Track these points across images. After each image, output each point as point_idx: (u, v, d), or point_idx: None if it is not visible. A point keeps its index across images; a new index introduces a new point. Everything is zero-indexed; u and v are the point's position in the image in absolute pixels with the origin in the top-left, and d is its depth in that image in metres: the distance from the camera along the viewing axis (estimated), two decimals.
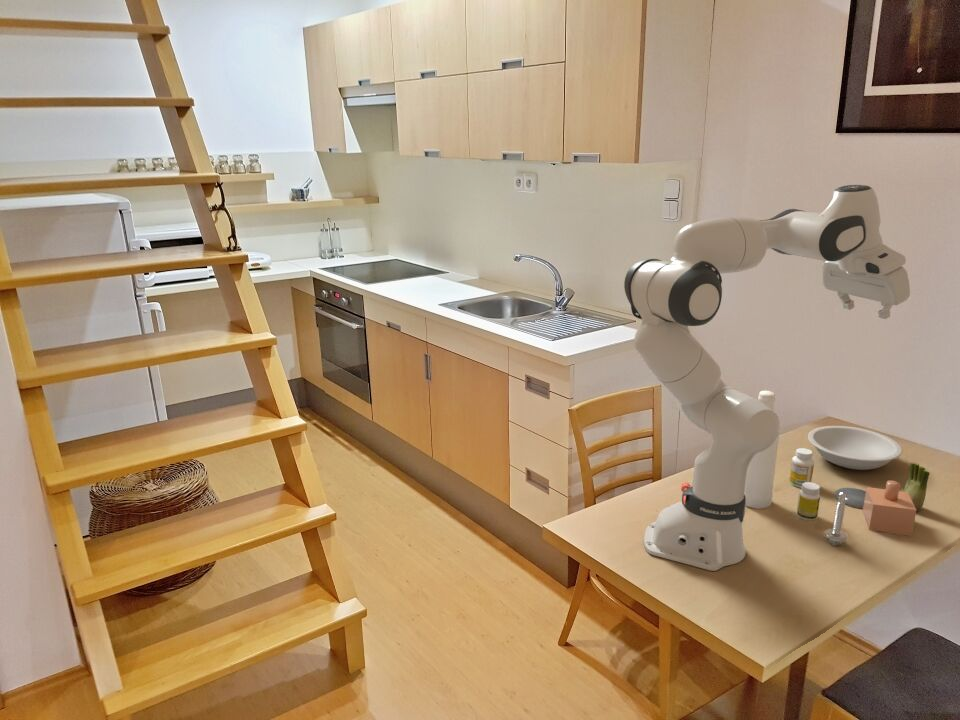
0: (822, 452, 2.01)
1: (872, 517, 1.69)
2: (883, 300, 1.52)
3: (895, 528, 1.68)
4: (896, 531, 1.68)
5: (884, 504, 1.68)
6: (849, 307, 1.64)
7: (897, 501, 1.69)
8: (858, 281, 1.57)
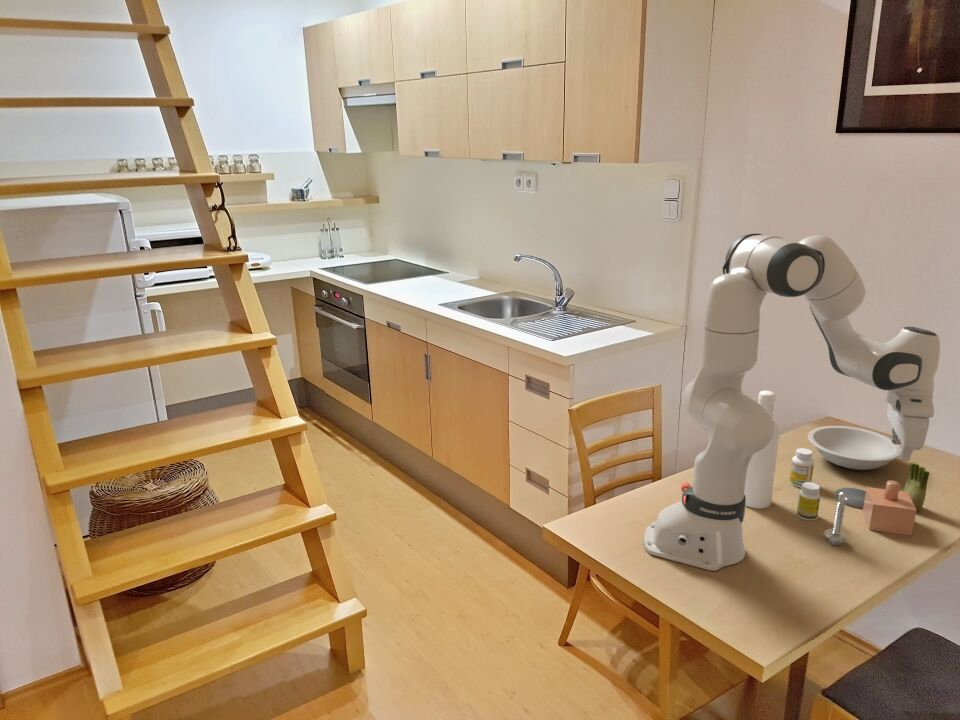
0: (822, 452, 2.01)
1: (872, 517, 1.69)
2: (900, 440, 1.60)
3: (895, 528, 1.68)
4: (896, 531, 1.68)
5: (884, 504, 1.68)
6: (894, 441, 1.71)
7: (897, 501, 1.69)
8: (898, 417, 1.65)
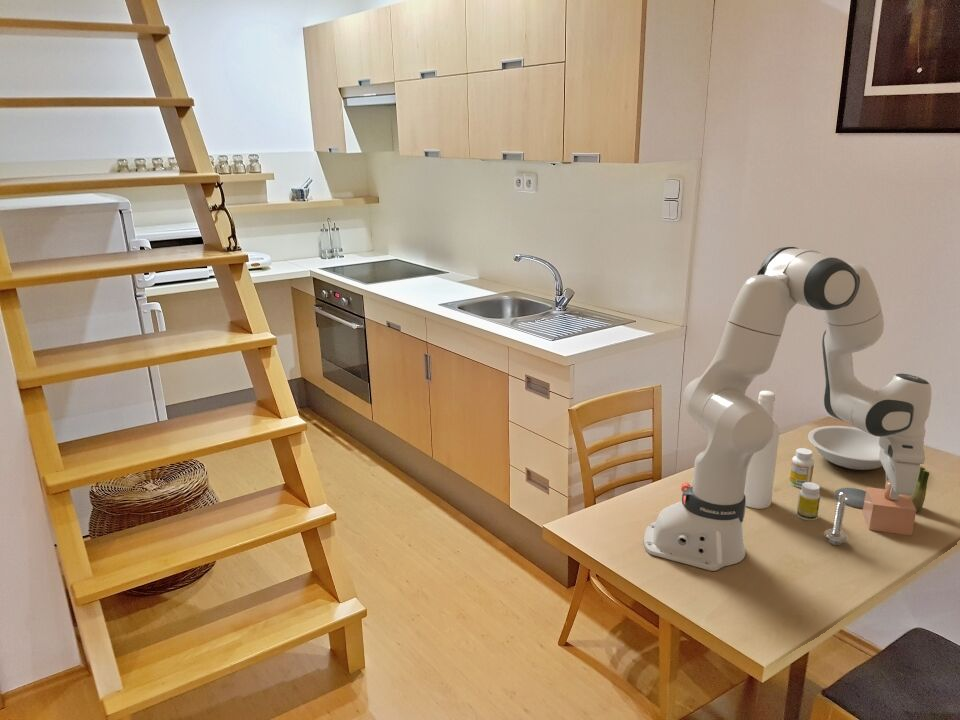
0: (822, 452, 2.01)
1: (872, 517, 1.69)
2: (892, 485, 1.64)
3: (895, 528, 1.68)
4: (896, 531, 1.68)
5: (884, 504, 1.68)
6: None
7: (897, 501, 1.69)
8: (890, 461, 1.68)
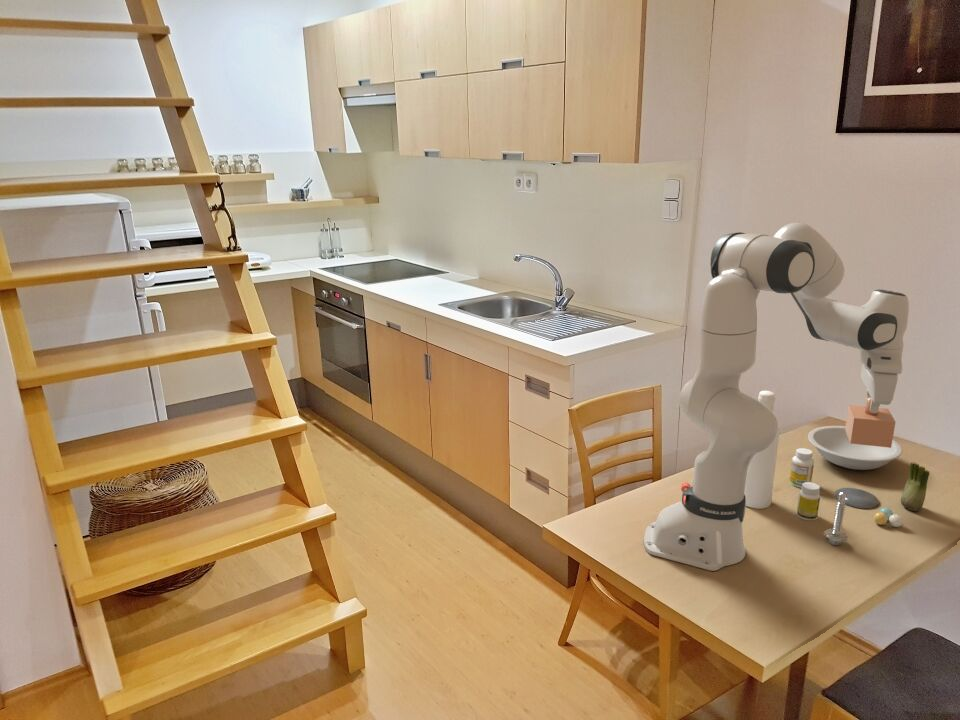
0: (822, 452, 2.01)
1: (853, 431, 1.75)
2: (871, 396, 1.70)
3: (875, 440, 1.74)
4: (876, 444, 1.74)
5: (864, 418, 1.74)
6: None
7: (877, 415, 1.75)
8: (869, 376, 1.74)
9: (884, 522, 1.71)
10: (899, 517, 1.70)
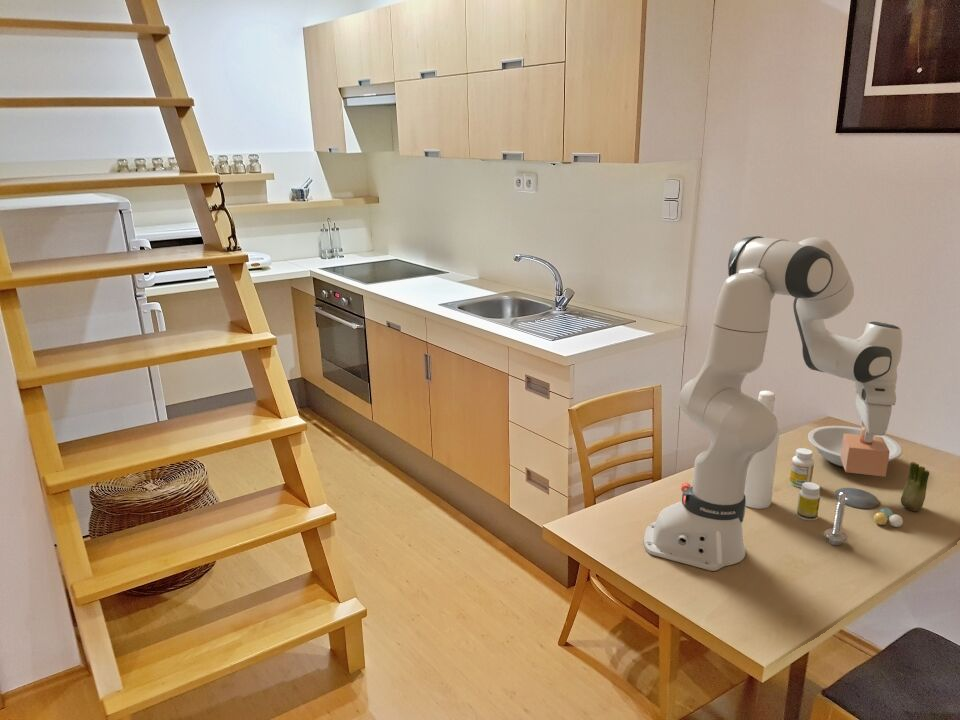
0: (822, 452, 2.01)
1: (848, 460, 1.78)
2: (866, 427, 1.72)
3: (870, 469, 1.77)
4: (871, 473, 1.77)
5: (859, 447, 1.77)
6: None
7: (872, 444, 1.78)
8: (864, 406, 1.77)
9: (884, 522, 1.71)
10: (899, 517, 1.70)
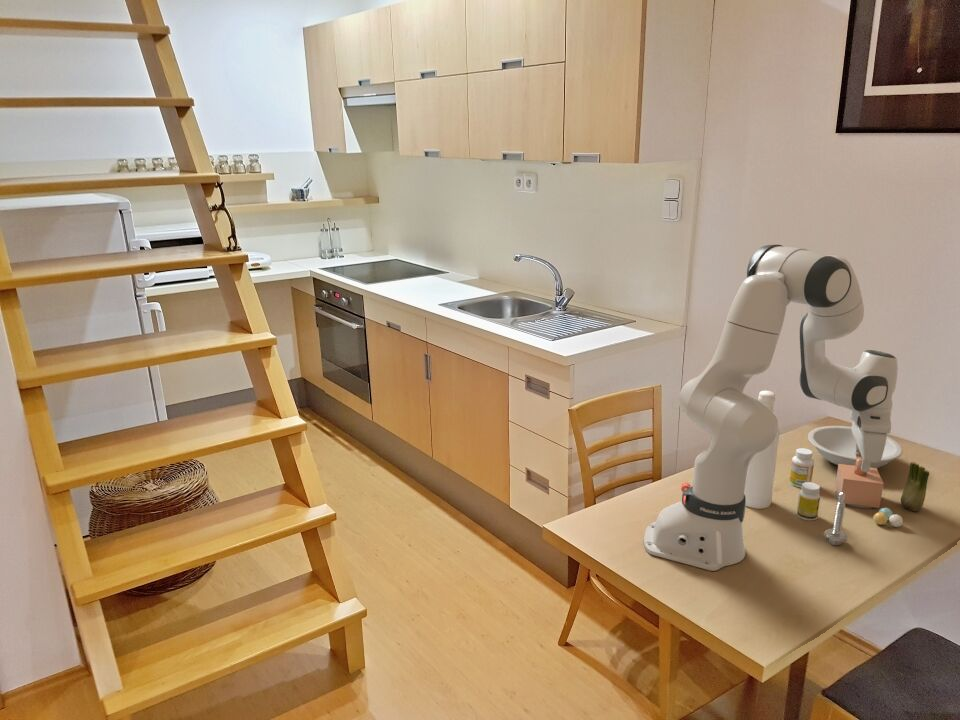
0: (822, 452, 2.01)
1: (842, 491, 1.80)
2: (861, 454, 1.74)
3: (864, 501, 1.79)
4: (865, 504, 1.80)
5: (853, 479, 1.79)
6: (857, 455, 1.84)
7: (866, 476, 1.80)
8: (860, 432, 1.79)
9: (884, 522, 1.71)
10: (899, 517, 1.70)
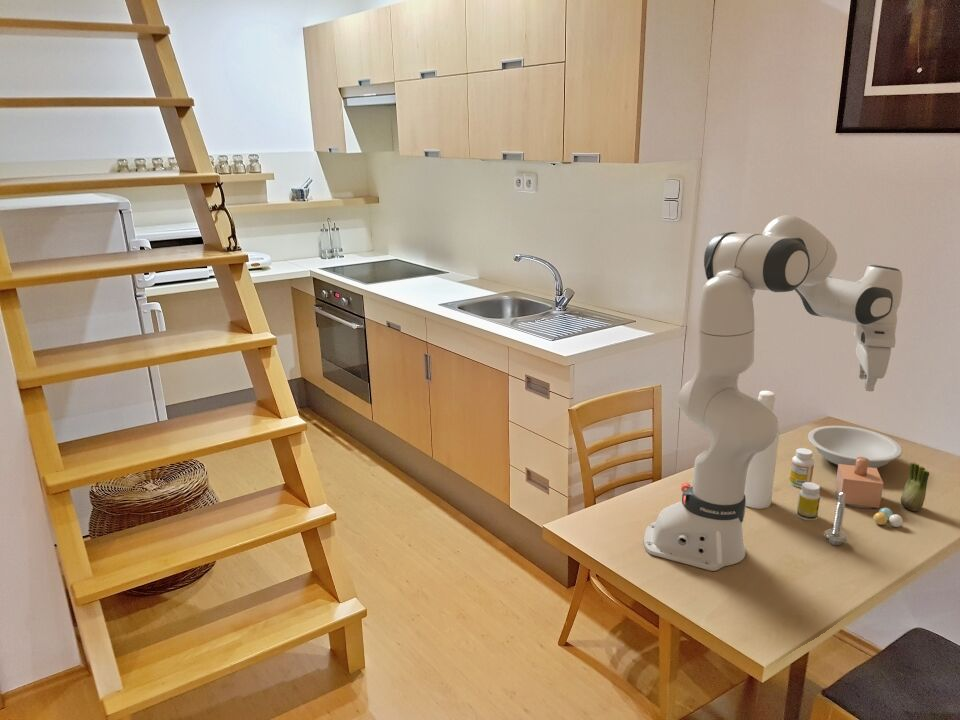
0: (822, 452, 2.01)
1: (842, 491, 1.80)
2: (865, 371, 1.71)
3: (864, 501, 1.79)
4: (865, 504, 1.80)
5: (853, 479, 1.79)
6: (861, 376, 1.82)
7: (866, 476, 1.80)
8: (864, 351, 1.76)
9: (884, 522, 1.71)
10: (899, 517, 1.70)
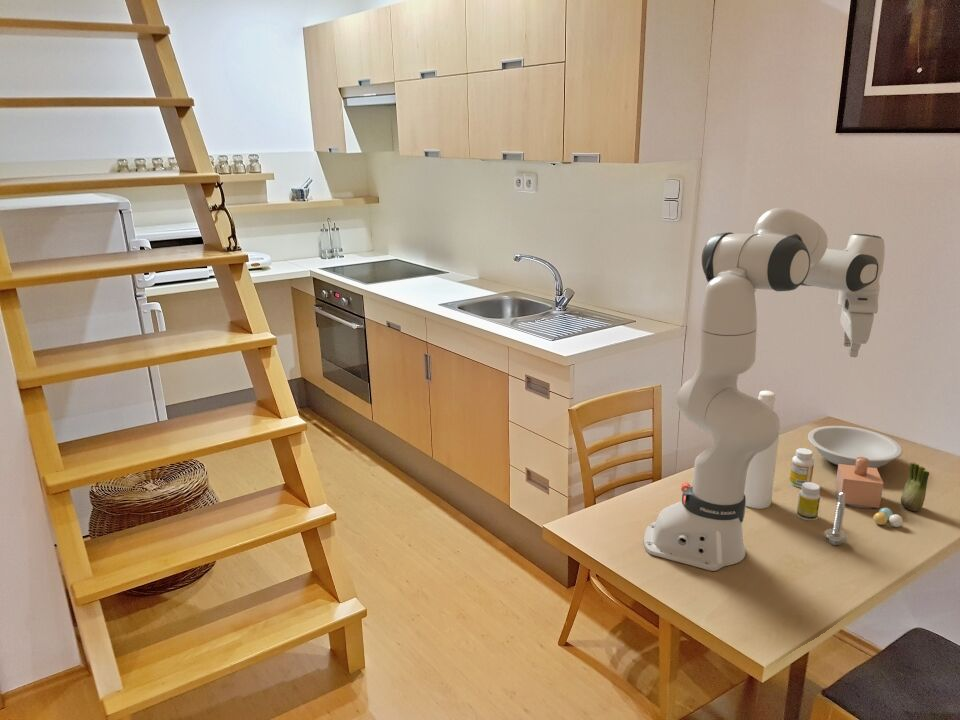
0: (822, 452, 2.01)
1: (842, 491, 1.80)
2: (849, 337, 1.76)
3: (864, 501, 1.79)
4: (865, 504, 1.80)
5: (853, 479, 1.79)
6: (845, 344, 1.86)
7: (866, 476, 1.80)
8: (848, 318, 1.80)
9: (884, 522, 1.71)
10: (899, 517, 1.70)
